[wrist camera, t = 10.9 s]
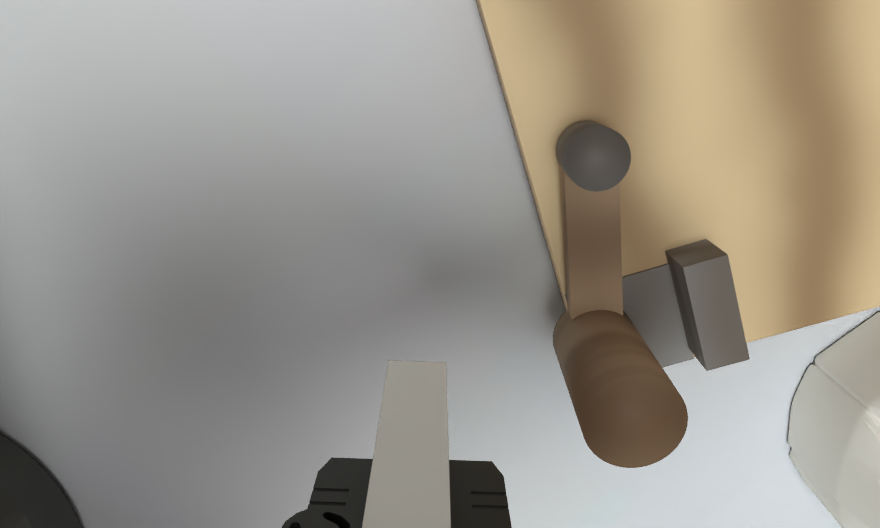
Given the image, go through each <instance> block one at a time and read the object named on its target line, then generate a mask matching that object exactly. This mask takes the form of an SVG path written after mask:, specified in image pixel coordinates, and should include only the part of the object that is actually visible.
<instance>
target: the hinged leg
mask: <svg viewBox="0 0 880 528" xmlns="http://www.w3.org/2000/svg"><path fill="white" fill-rule="evenodd" d="M556 157H557V161H558V163H559V165H560V183H561V201H562V220H563V238H564V256H565V275H566V293H567V311H566V312H565V313H564V314H563V315H562V316H561V317H560V319H559V320H558V322H557V324H556V326H555V329H554V333H553V345H554V349H555V352H556V355H557V358H558V361H559V364H560V367H561V370H562V373H563V376H564V379H565V382H566V385H567V388H568V391H569V394H570V397H571V400H572V403H573V406H574V409H575V412H576V415H577V418H578V421H579V424H580V427H581V430H582V433H583V436H584V439H585V441H586V443H587V445H588V447H589V448H590V449H591V451H592V452H593V453H594V454H595V455H596V456H598V457H599V458H600V459H602V460H603V461H605V462H607V463H609V464H612V465H615V466H619V467H627V468H636V467H643V466H647V465H650V464H653V463H656V462H658V461H660V460H662V459H663V458H665V457H666V456H668V455H669V454H670V453H671V452H672V451H673V450H674V449H675V448H676V447H677V446H678V445H679V443H680V442H681V440H682V438H683V436H684V434H685V431H686V428H687V421H688V415H687V409H686V405H685V403H684V401H683V399H682V397H681V395H680V394H679V392H678V391H677V389H676V388H675V386H674V385H673V383H672V382H671V380H670V379H669V377H668V376H667V374H666V373H665V371H664V370H663V368H662V367H661V365H660V364H659V362H658V361H657V359H656V358H655V356H654V355H653V353H652V352H651V350H650V349H649V347H648V345H647V344H646V342H645V341H644V339H643V338H642V336H641V335H640V333H639V332H638V330H637V329H636V327H635V326H634V324H633V323H632V321H631V320H630V318H629V317H628V315H627V314H626V313H625V312H624V311H623V291H622V255H621V219H620V181H622V179H623V178H624V177H625V175H626V174H627V172H628V170H629V167H630V163H631V152H630V148H629V145H628V143H627V141H626V140H625V138H624V137H623V136H622V135H621V134H620V133H618V132H617V131H615V130H613V129H611V128H609V127H607V126H604V125H602V124H600V123H598V122H595V121H589V120H586V121H579V122H576V123H574V124H572V125H570V126H569V127H568V128H566V129H565V130H564V132H563V133H562V134H561V136H560V137H559V140H558V142H557V146H556Z"/></svg>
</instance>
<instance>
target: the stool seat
mask: <svg viewBox="0 0 880 528" xmlns="http://www.w3.org/2000/svg"><path fill="white" fill-rule="evenodd" d="M476 3H477V6H478V10H479V13H480V16H481V20H482V23H483V27H484V30H485V34H486V37H487V41H488V44H489V47H490V51H491V54H492V58H493V61H494V65H495V68H496V72H497V75H498V78H499V82H500V85H501V89H502V92H503V96H504V99H505V103H506V106H507V109H508V113H509V116H510V120H511V123H512V127H513V130H514V134H515V137H516V140H517V144H518V147H519V151H520V154H521V158H522V161H523V165H524V168H525V171H526V175H527V178H528V182H529V185H530V189H531V192H532V196H533V199H534V202H535V206H536V209H537V213H538V216H539V220H540V223H541V227H542V230H543V233H544V237H545V240H546V244H547V247H548V251H549V254H550V258H551V261H552V264H553V268H554V271H555V275H556V278H557V282H558V285H559V289H560V292H561V295H562V299H563V302H564V306H565V309H566V311H567V293H566V275H565V256H564V238H563V220H562V201H561V183H560V165H559V163H558V161H557V157H556V146H557V142H558V140H559V137H560V136H561V134H562V133H563V132H564V130H565V129H566V128H568V127H569V126H570V125H572V124H574V123H576V122H579V121H586V120H589V121H595V122H598V123H600V124H602V125H604V126H607V127H609V128H611V129H613V130H615V131H617V132H618V133H620V134H621V135H622V136H623V137H624V138H625V140H626V141H627V143H628V145H629V148H630V152H631V163H630V167H629V170H628V172H627V174H626V175H625V177H624V178H623V179H622V181H620V219H621V255H622V291H623V311H624V312H625V313H626V314H627V315H628V317H629V318H630V320H631V321H632V323H633V324H634V326H635V327H636V329H637V330H638V332H639V333H640V335H641V336H642V338H643V339H644V341H645V342H646V344H647V345H648V347H649V349H650V350H651V352H652V353H653V355H654V356H655V358H656V359H657V361H658V362H659V364H660V365H661V367H665V366H669V365H673V364H676V363H680V362H684V361H687V360H691V359H694V357H696V358H697V359H698V360H699V362H700V363H701V364H702V365H703V367H704V368H705V369H706V370H707V371H708V370H712V369H715V368H719V367H723V366H726V365H730V364H734V363H737V362H741V361H745V360H748V359H749V354H748V349H747V344H746V343H748V342H751V341H755V340H759V339H762V338H766V337H770V336H773V335H777V334H780V333H784V332H788V331H791V330H795V329H799V328H802V327H806V326H810V325H813V324H817V323H820V322H824V321H828V320H831V319H835V318H839V317H842V316H846V315H850V314H853V313H857V312H860V311H864V310H868V309H871V308H875V307H879V306H880V0H476Z"/></svg>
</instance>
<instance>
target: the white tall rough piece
mask: <svg viewBox="0 0 880 528" xmlns="http://www.w3.org/2000/svg"><path fill="white" fill-rule="evenodd" d="M815 364H816V365H810V366H809V367H808V368H807V370H806V372H805V374H804V376H803V378H802V380H801V382H800V385H799V387H798V389H797V391H796V393H795V396H794V398H793V402H792V406H791V412H790V423H789V433H788V444H789V445H790V446H791V447H792V449H791V452H790V458H791V460H792V461H793V463H794V465H795V467H796V468H797V470H798V472H799V474H800V475H801V477H802V479H803V481H804V482H805V483H806V484H807V486H808V487H809V488H810V489H811V490H812V492H813V493H814V494H815V495H816V497H817V498H818V499H819V500H820V501H821V503H822V504H823V505H824V506H825V507H826V509H827V510H828V511H829V512H830V513H831V515H832V516H833V517H834V518H835V520H836V521H837V522H838V523H839V524H840V526H841V527H842V528H880V312H878V313H876V314H875V315H873V316H872V317H871V318H869V319H868V320H866V321H865V322H864V323H862V324H861V325H859V326H858V327H857V328H855V329H854V330H852V331H851V332H849V333H848V334H847V335H845V336H844V337H842V338H841V339H840V340H838V341H837V342H835V343H834V344H833V345H831V346H830V347H829V348H827V349H826V350H824V351H823V352H822V353H820V354H819V355H818V356H816V358H815Z"/></svg>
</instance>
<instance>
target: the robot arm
mask: <svg viewBox="0 0 880 528" xmlns="http://www.w3.org/2000/svg"><path fill="white" fill-rule="evenodd" d="M0 528H81V527H80V524H79V521H78V519H77V517H76V515H75V512H74V510H73V509H72V507H71V505H70V503H69V501H68V500H67V498H66V497H65V495H64V493H63V492H62V491H61V489H60V488H59V487H58V485H57V484H56V483H55V481H54V480H53V479H52V478H51V477H50V475H49V474H48V473H47V472H46V471H45V470H44V469H43V468H42V467H41V466H40V465H39V464H38V463H37V462H36V461H35V460H34V459H33V458H32V457H31V456H29V455H28V454H27V453H26V452H24V451H23V450H22V449H21V448H19V447H18V446H17V445H15V444H14V443H13V442H11V441H10V440H8V439H7V438H5V437H4V436H2V435H0ZM282 528H512V527H511V521H510V515H509V509H508V502H507V496H506V489H505V483H504V477H503V475H502V474H501V472H500V471H499V470H498V469H497V467H496V466H495V465H494V464H493V462H492V461H463V460H449V447H448V412H447V377H446V362H419V361H391V360H389V362H388V368H387V374H386V380H385V387H384V393H383V399H382V405H381V412H380V418H379V424H378V430H377V437H376V443H375V449H374V456H373V459H355V458H331V459H330V460H329V461H328V462H327V463H326V464H325V465H324V466H323V467H322V468H321V469H320V470H319V471H318V474H317V478H316V481H315V485H314V489H313V491H312V495H311V498H310V504H309V505H308V509H307V510H304V511H301V512H299V513H296V514H295V515H293V516H292V517H291V518H289V519H288V520H287V521H285V523H284V525H283V526H282Z"/></svg>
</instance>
